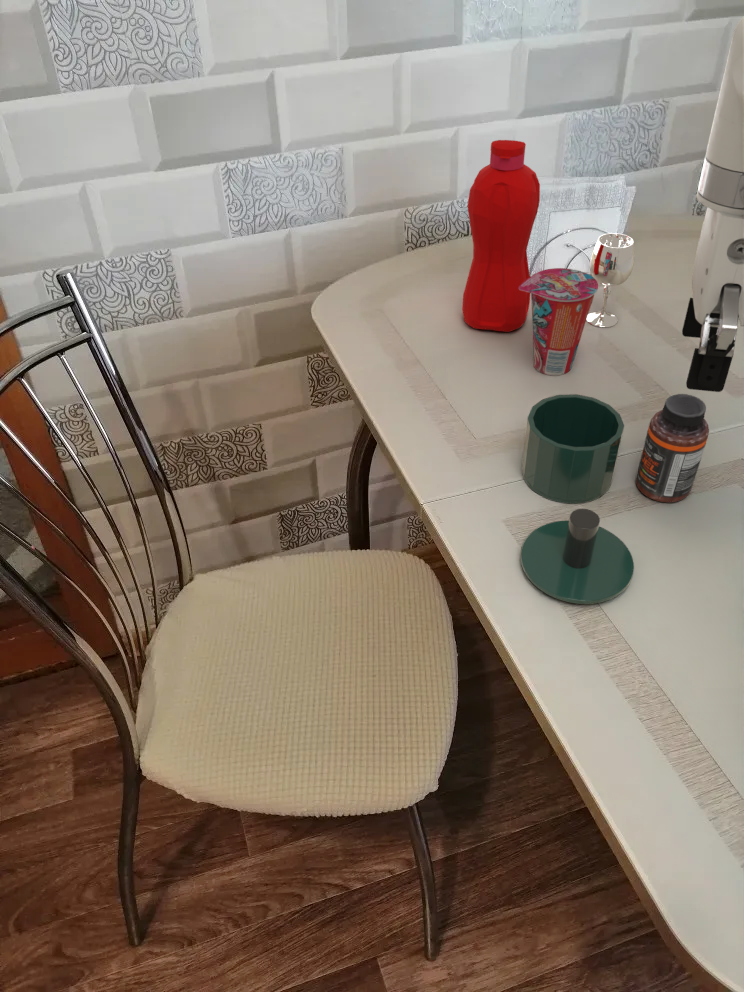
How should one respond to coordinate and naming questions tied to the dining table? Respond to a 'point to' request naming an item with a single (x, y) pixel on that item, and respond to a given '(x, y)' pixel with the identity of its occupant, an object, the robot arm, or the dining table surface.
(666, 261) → the dining table surface
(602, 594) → the lid
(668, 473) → the supplement bottle
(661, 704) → the dining table surface
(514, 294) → the water bottle
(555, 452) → the pot
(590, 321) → the wineglass
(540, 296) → the cup
